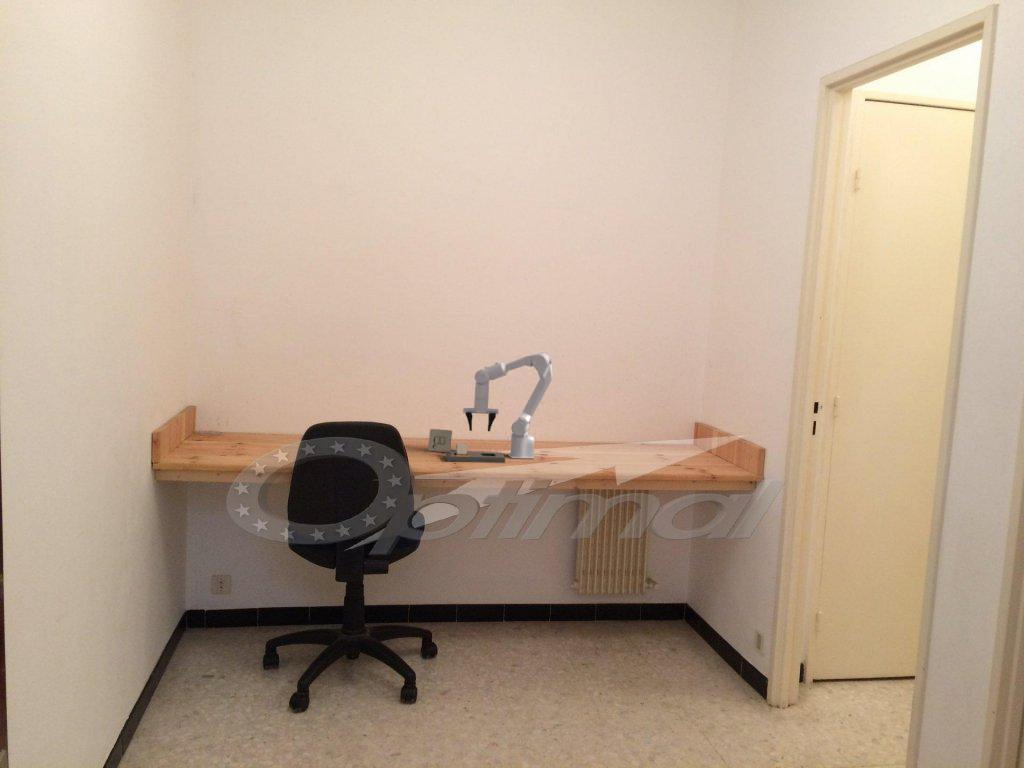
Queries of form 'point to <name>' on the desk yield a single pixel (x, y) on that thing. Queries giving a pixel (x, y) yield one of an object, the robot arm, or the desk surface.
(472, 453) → the grey board with holes
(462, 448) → the peg
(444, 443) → the electrical switch
